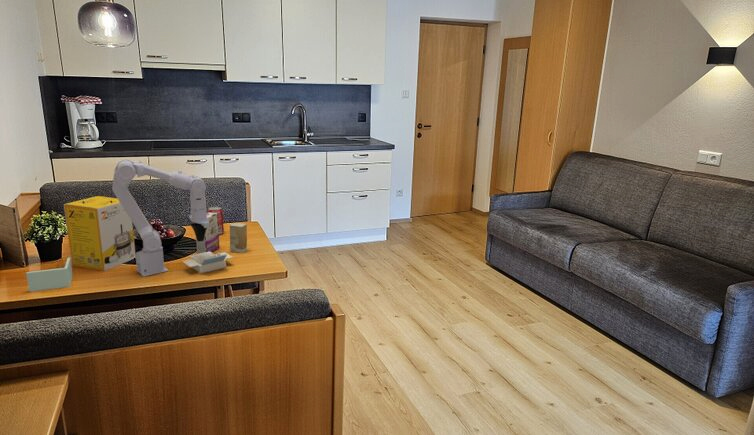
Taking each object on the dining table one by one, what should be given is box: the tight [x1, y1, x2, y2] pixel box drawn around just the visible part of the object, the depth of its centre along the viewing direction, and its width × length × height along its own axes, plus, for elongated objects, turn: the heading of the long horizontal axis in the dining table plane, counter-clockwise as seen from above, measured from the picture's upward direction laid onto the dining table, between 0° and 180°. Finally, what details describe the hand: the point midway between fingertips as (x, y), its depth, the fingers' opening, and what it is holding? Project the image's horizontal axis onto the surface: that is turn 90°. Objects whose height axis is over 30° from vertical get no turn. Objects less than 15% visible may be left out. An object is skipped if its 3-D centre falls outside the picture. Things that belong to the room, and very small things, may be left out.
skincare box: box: [229, 222, 248, 254], centre depth 216 cm, size 6×4×12 cm
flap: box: [202, 253, 228, 265], centre depth 192 cm, size 9×4×1 cm
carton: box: [182, 251, 234, 275], centre depth 198 cm, size 18×13×6 cm
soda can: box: [206, 206, 225, 236], centre depth 238 cm, size 7×7×13 cm
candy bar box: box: [195, 212, 220, 254], centre depth 213 cm, size 11×5×16 cm, turn 168°
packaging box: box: [63, 195, 136, 272], centre depth 196 cm, size 16×16×25 cm
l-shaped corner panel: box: [25, 257, 74, 292], centre depth 177 cm, size 12×12×8 cm
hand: (200, 240), depth 197 cm, fingers closed
